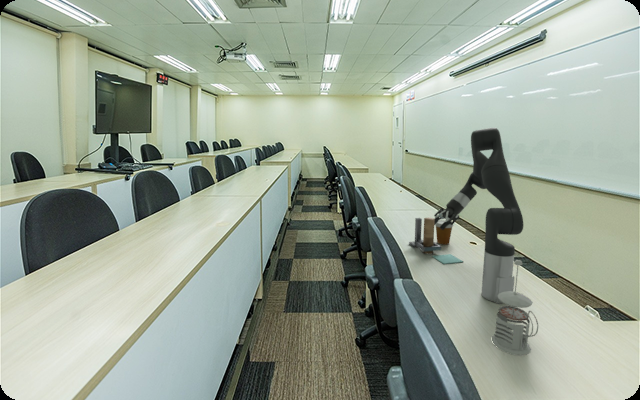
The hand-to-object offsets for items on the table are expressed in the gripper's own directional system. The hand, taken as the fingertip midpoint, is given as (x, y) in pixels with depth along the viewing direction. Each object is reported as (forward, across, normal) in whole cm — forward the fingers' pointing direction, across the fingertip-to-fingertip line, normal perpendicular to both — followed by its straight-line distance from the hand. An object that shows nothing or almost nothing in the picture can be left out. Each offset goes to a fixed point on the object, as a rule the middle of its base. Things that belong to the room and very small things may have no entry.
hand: (436, 226), depth 157 cm
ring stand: (+13, -5, +7) cm, 15 cm away
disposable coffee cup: (+1, -12, +18) cm, 22 cm away
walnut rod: (+13, 0, +7) cm, 14 cm away
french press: (+23, +73, -3) cm, 77 cm away
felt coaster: (+10, +11, +10) cm, 17 cm away
